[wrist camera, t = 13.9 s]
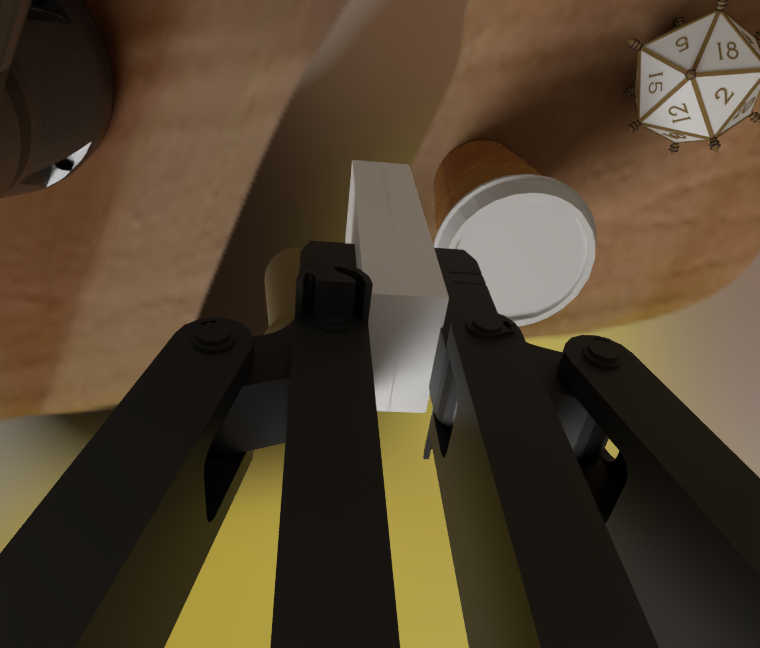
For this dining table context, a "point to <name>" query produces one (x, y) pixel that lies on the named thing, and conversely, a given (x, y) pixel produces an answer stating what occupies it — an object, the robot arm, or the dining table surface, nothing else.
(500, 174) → the disposable coffee cup
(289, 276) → the pepper mill
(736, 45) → the game die
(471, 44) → the dining table surface
